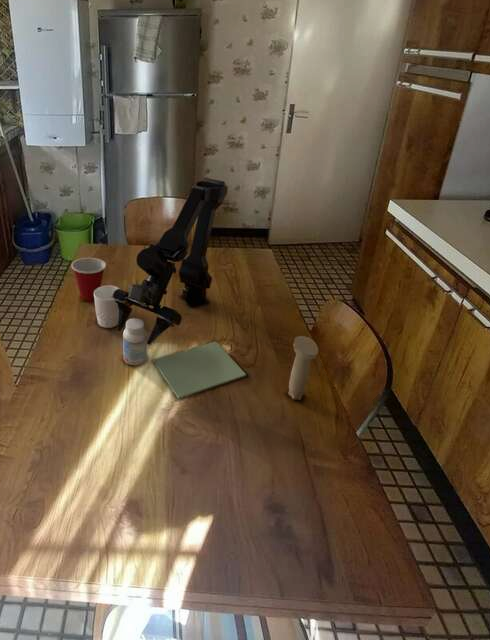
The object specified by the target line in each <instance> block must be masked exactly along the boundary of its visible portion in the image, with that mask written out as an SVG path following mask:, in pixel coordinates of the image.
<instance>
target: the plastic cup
mask: <svg viewBox="0 0 490 640" xmlns="http://www.w3.org/2000/svg"><path fill="white" fill-rule="evenodd" d="M70 266H71V269H72V271H73V273H74V277H75V281H76V284H77V288H78V292H79V296H80V298H81V300H83V301H85V302H93V301H94V302H95V300H94V291H95V290H96V289H97V288H99V287H101V286H102V282H103V275H104V272H105V269H106V267H107V263H106V261H104V260H103V259H100V258H95V257H82V258H78V259H75V260H74V261H73V262H71V264H70Z"/></svg>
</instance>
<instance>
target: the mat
mask: <svg viewBox="0 0 490 640" xmlns="http://www.w3.org/2000/svg"><path fill="white" fill-rule="evenodd" d="M153 363H154V364H155V366H156V367H157V369H158V370H159V372H160V373H161V375H162V376H163V378H164V380H165V381H166V382H167V385H168V386H169V387H170V389H171V390H172V392H173V393H174V395H175V396H176V398H177V399H178V400H180V399H183V398H186V397H188V396H192V395H196V394H199V393H200V392H204V391H207V390H209V389H212V388H215V387H218V386H221V385H224V384H227V383H230V382H233V381H235V380H238V379H242V378H245V377H246V376H247V374H246V373H245V372H244V370H243V369H242V368H241V367H240V366H239V365H238V364H237V362H235V360H234V359H233V357H231V356H230V355H229V354H228V352H226V350H225V349H224V348H223V347H222V346H221V345H220V344H219V343H218V341H213V342H209V343H206V344H202V345H198V346H196V347H192V348H189V349H185V350H182V351H179V352H175V353H172V354H168V355H165V356H162V357H158V358H155V359H153Z"/></svg>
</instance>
